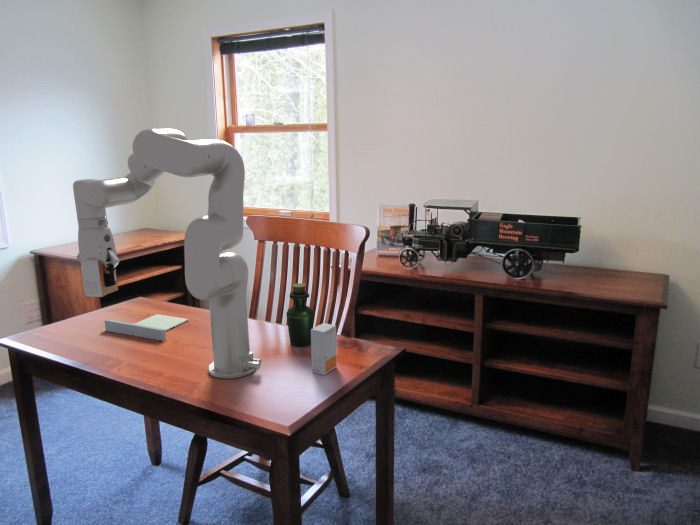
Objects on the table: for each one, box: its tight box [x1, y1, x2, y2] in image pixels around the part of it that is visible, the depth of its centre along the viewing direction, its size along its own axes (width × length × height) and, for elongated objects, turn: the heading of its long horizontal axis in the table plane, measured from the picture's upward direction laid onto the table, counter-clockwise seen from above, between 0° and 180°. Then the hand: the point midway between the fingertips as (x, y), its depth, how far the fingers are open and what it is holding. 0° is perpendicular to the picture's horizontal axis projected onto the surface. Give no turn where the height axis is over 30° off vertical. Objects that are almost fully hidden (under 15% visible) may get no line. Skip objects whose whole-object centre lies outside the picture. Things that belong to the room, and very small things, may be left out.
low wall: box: [103, 319, 167, 342], centre depth 173 cm, size 24×1×4 cm, turn 65°
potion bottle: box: [286, 282, 315, 348], centre depth 163 cm, size 8×8×18 cm
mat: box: [134, 313, 190, 332], centre depth 182 cm, size 14×14×1 cm
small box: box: [80, 260, 119, 298], centre depth 159 cm, size 8×6×10 cm
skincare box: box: [310, 322, 337, 376], centre depth 145 cm, size 6×4×12 cm
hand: (101, 284), depth 160 cm, fingers closed on small box, 6 cm apart
